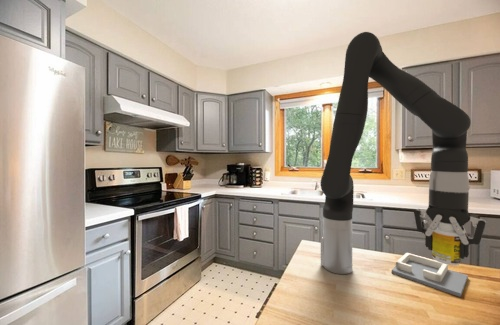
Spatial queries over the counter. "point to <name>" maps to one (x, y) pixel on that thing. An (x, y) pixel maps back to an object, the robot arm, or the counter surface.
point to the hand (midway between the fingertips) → (446, 253)
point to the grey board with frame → (430, 273)
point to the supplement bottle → (446, 244)
